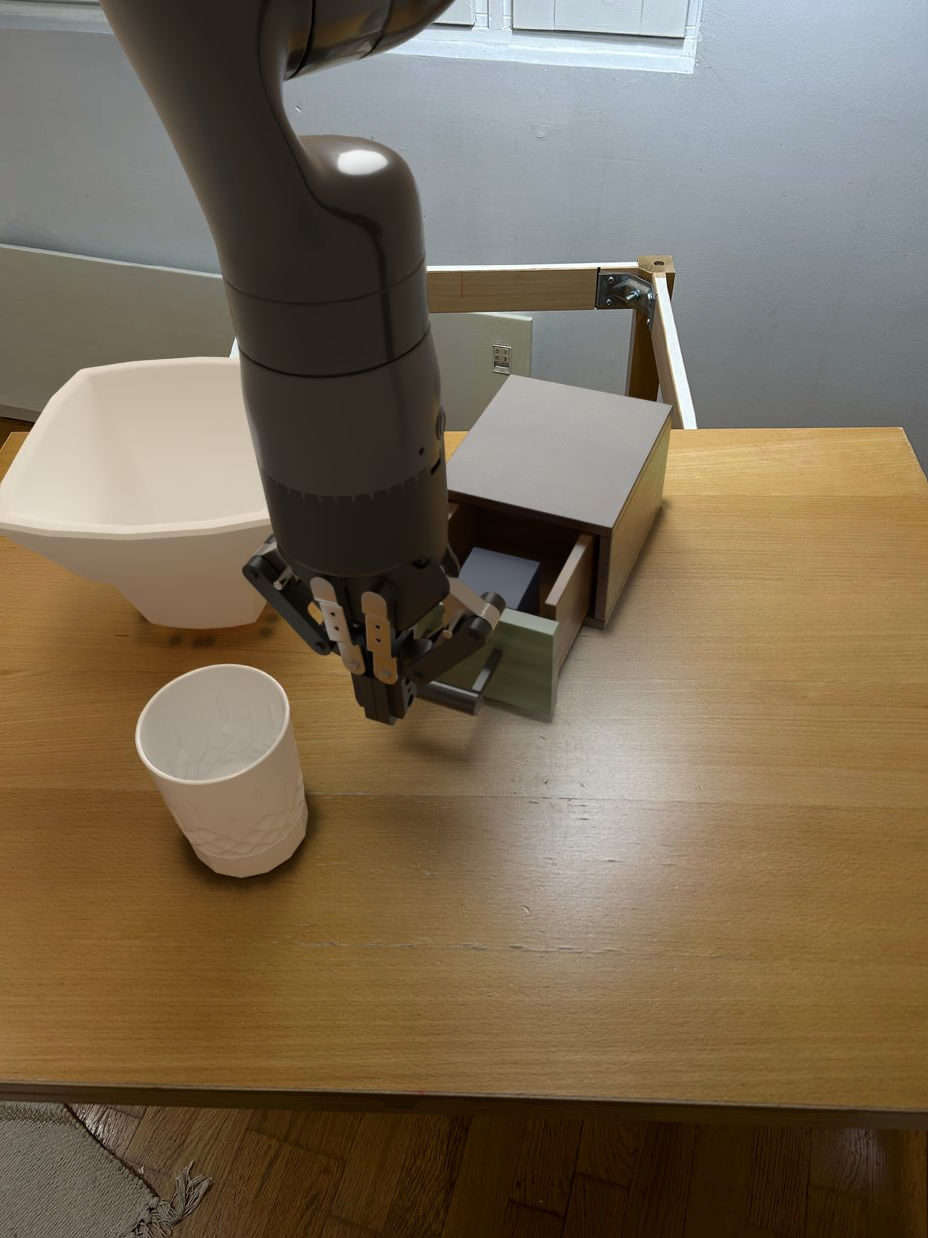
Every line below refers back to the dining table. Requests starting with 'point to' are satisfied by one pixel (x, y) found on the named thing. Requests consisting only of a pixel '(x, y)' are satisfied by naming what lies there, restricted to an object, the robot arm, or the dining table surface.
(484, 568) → the block
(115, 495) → the bowl
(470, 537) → the drawer
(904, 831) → the dining table surface
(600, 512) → the cabinet
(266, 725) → the white cup
